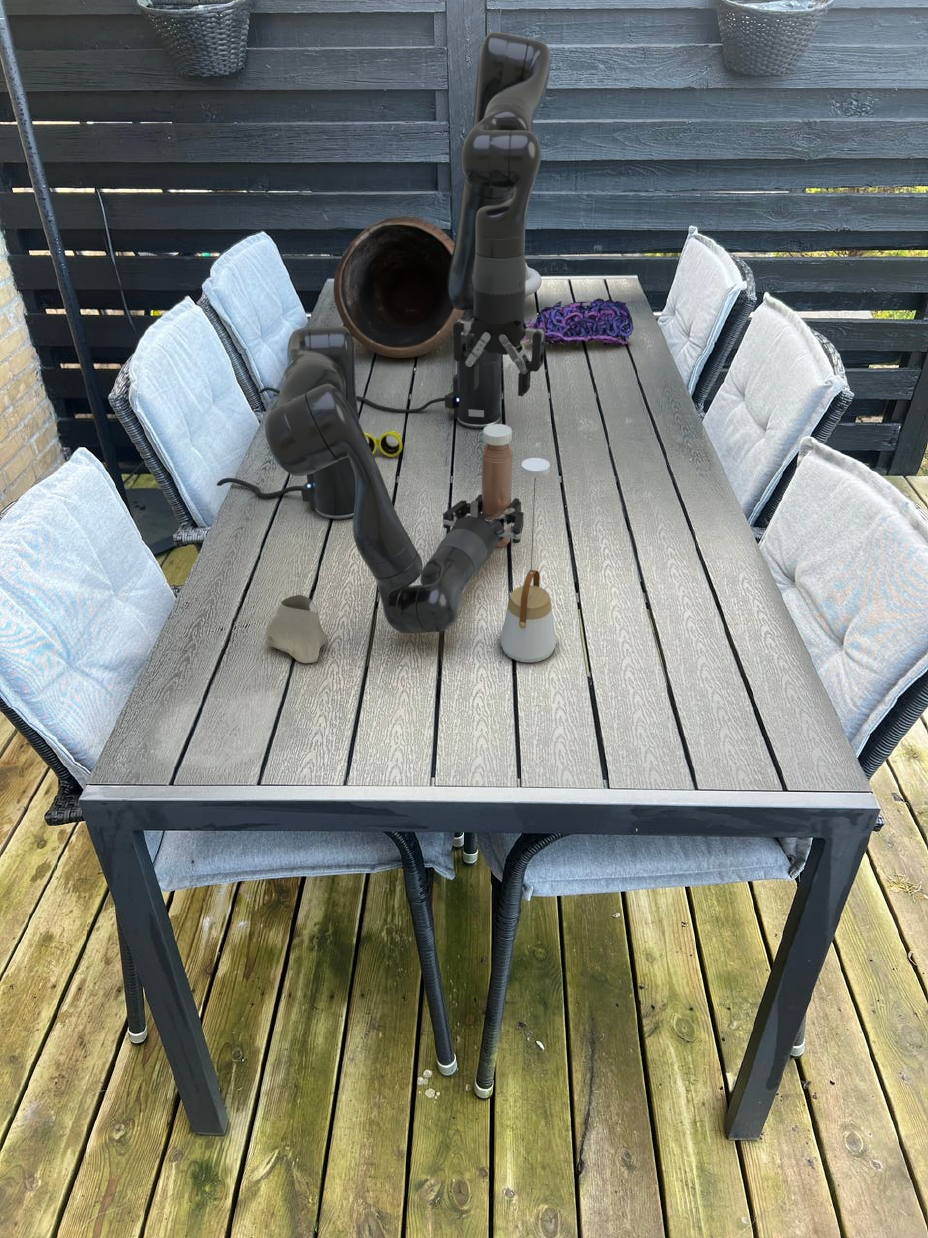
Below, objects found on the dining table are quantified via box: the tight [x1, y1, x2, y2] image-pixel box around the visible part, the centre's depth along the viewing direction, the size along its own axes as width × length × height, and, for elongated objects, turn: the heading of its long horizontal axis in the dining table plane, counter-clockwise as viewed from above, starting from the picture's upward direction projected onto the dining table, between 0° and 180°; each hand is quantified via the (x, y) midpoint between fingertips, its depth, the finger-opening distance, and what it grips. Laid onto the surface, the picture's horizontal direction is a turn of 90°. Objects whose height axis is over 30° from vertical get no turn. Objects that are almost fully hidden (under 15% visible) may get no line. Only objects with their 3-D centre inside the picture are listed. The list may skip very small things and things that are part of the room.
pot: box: [333, 215, 466, 359], centre depth 229 cm, size 32×32×30 cm
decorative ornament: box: [521, 298, 634, 347], centre depth 229 cm, size 13×11×30 cm
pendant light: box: [499, 457, 557, 663], centre depth 128 cm, size 8×8×30 cm
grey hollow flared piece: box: [265, 594, 328, 664], centre depth 135 cm, size 9×8×10 cm
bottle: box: [481, 443, 513, 548], centre depth 155 cm, size 5×5×20 cm
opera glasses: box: [363, 430, 403, 458], centre depth 185 cm, size 10×5×5 cm, turn 95°
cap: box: [482, 423, 513, 446], centre depth 149 cm, size 5×5×2 cm
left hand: (501, 499), depth 159 cm, fingers closed on bottle, 5 cm apart
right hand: (498, 390), depth 144 cm, fingers open, 7 cm apart
